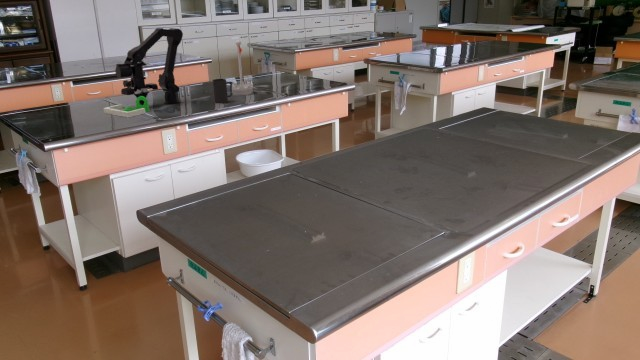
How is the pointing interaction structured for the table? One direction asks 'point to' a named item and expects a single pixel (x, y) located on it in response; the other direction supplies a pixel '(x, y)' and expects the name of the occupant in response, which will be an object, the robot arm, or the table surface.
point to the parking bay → (117, 111)
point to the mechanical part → (139, 105)
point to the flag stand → (241, 88)
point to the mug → (221, 90)
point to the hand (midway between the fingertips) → (142, 105)
